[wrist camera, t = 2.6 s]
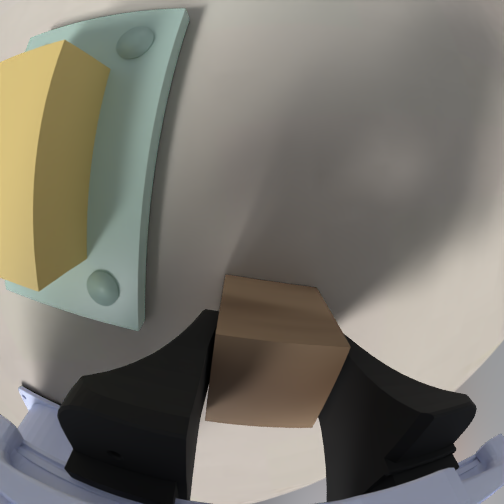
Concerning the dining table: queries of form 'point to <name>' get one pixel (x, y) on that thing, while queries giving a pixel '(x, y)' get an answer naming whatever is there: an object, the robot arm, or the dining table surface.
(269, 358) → the walnut block
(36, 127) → the ochre brick
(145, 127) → the plate
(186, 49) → the dining table surface
